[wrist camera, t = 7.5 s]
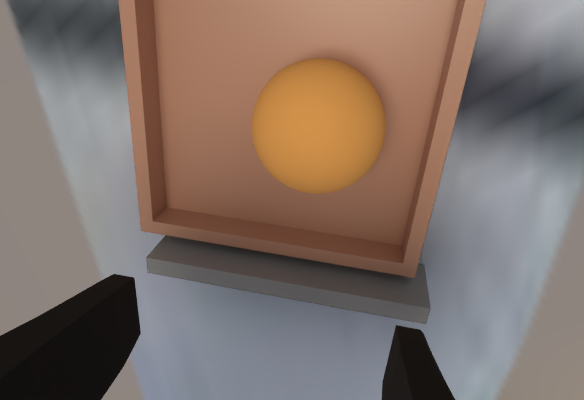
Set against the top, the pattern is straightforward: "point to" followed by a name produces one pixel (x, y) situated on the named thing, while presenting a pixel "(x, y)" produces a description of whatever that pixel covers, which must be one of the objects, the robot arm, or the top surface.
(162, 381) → the top surface
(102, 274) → the top surface
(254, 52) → the tray
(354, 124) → the ball
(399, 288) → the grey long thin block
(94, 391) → the robot arm
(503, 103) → the top surface
